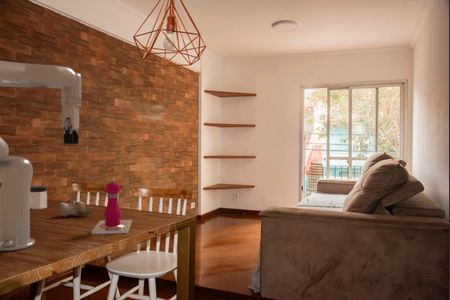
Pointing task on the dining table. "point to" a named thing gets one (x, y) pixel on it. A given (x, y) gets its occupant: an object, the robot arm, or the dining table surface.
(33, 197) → the jar
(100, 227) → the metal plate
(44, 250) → the dining table surface
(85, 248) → the dining table surface
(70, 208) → the ceramic sculpture
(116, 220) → the pepper mill
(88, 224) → the dining table surface
